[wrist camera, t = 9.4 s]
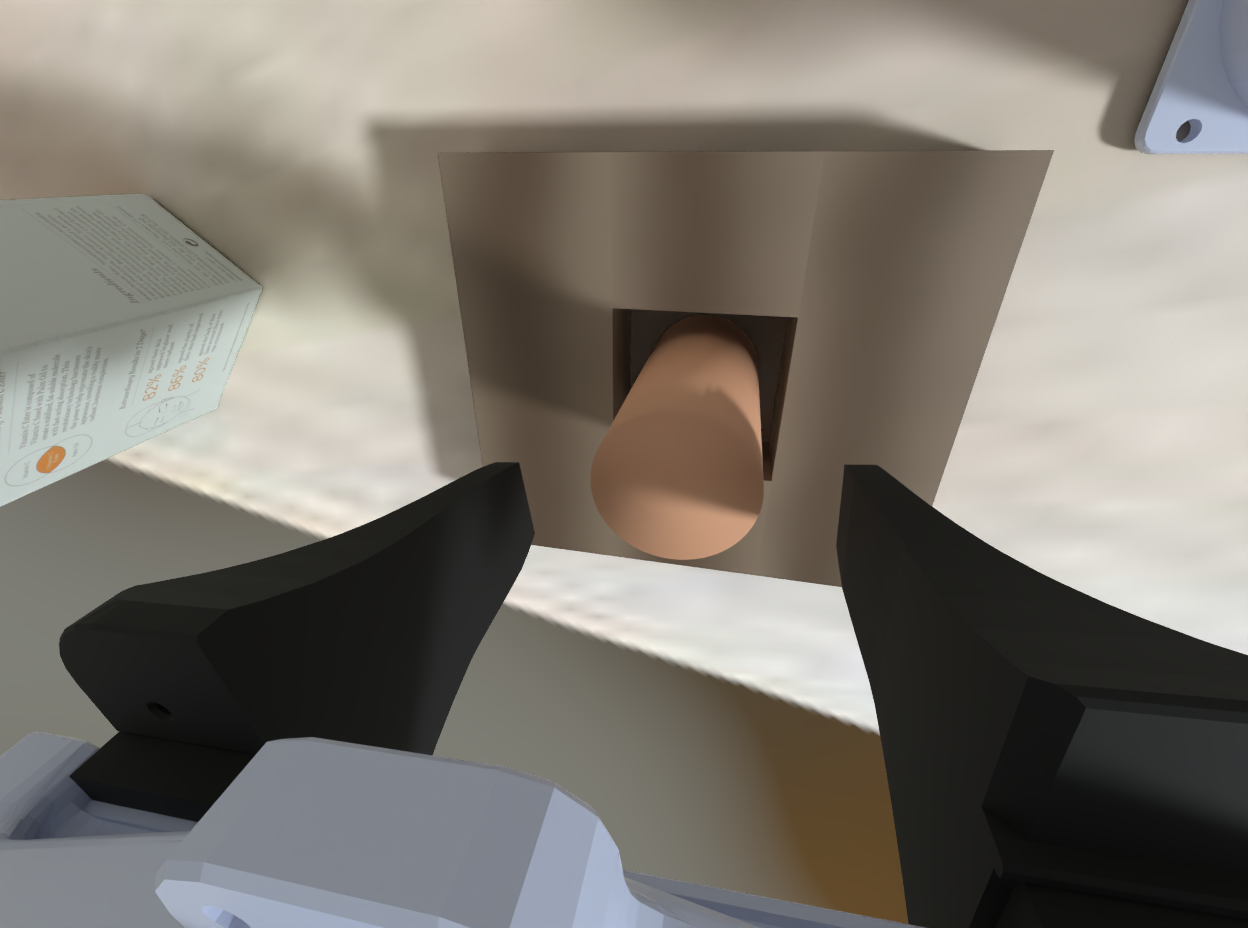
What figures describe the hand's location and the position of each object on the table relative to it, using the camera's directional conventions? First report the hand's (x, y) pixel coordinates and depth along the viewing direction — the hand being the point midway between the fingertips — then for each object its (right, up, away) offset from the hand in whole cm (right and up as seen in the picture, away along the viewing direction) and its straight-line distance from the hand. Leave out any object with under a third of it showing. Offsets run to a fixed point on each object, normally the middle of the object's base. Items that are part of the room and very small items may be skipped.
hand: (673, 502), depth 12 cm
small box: (-21, +8, +12) cm, 25 cm away
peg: (+2, +4, +8) cm, 9 cm away
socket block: (+2, +4, +8) cm, 9 cm away
